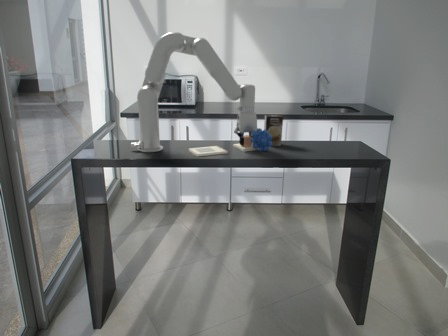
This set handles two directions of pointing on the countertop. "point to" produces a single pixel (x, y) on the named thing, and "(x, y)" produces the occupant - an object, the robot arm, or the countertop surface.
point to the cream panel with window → (208, 151)
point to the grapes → (261, 140)
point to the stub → (245, 145)
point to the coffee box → (274, 128)
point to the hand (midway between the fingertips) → (245, 144)
